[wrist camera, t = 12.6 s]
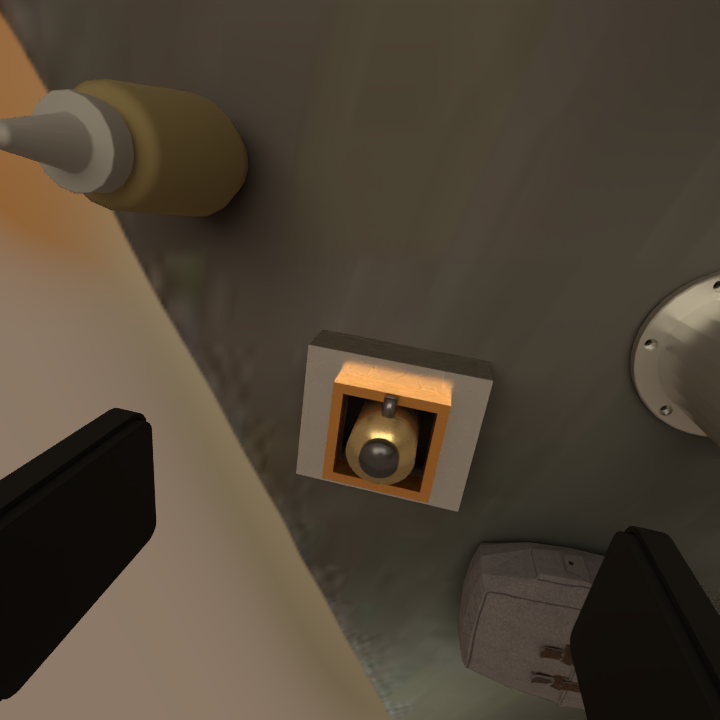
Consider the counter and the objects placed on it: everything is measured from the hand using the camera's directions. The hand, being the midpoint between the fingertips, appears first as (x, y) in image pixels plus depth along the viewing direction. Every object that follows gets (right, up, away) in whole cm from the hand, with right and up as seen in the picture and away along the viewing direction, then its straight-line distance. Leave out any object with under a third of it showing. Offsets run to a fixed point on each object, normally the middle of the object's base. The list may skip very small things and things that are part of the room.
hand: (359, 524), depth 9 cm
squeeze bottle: (-11, +19, +26) cm, 34 cm away
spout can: (+3, -1, +30) cm, 31 cm away
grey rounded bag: (+20, -19, +34) cm, 44 cm away
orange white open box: (+3, -1, +31) cm, 31 cm away
